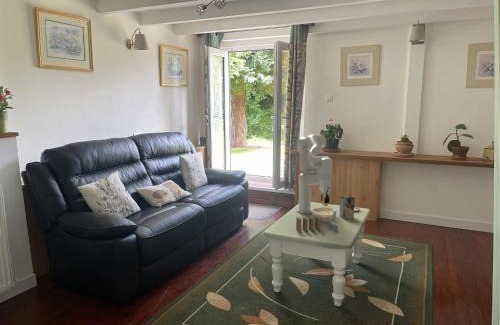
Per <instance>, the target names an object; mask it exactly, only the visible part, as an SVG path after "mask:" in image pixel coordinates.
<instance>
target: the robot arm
mask: <svg viewBox="0 0 500 325" xmlns="http://www.w3.org/2000/svg"><path fill="white" fill-rule="evenodd" d="M326 142H327V140H326V137H325V136H324V135H322V134H310V135H307V136H306V137H300V138H298V139H297V142H296V145H297V151H298V153H299V169H300V171H301V172H302V171H303V172H302V173H300V174H298V178H297V179H298V208H297V209H296V212H297V213H300V214H306V215H307V214H312V213H313V209H311V204H312V189H311V187H310V185H311V186H313V185H314V186H315V185H319V191H320V192H321V196H320V197H321V198H320V201H321V202H322V194H323V193H325V197H324V203H328V204H329V203H330V196H331V193H332V192H331V191H332V181H331V180H332V177H333V176H332V175H333V174H332V173H333V159H332V158H331V157H330V156H328V155H319V154H320V153H321V152H322V150H323V147H324V146H325V144H326ZM316 155H317V156H316ZM326 192H327V193H326ZM326 194H327V195H326Z"/></svg>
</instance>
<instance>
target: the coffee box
mask: <svg viewBox="0 0 500 325" xmlns="http://www.w3.org/2000/svg"><path fill="white" fill-rule="evenodd" d="M355 200H356V199H355V197H353V196H351V195H340V196H339V217H340V218H341V219H353V218H354V216H355Z"/></svg>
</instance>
